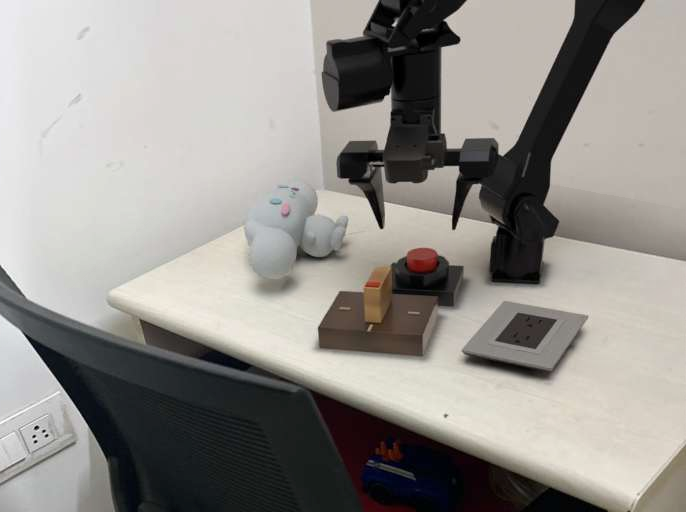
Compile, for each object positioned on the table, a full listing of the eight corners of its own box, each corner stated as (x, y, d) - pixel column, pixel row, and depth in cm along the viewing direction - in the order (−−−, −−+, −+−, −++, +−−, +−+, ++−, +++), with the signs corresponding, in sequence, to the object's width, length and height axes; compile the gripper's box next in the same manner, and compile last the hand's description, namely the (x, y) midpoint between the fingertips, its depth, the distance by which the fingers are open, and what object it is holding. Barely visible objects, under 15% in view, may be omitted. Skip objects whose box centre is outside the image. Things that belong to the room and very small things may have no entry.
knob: (377, 299, 98) (375, 264, 95) (392, 300, 98) (391, 264, 95) (364, 322, 94) (363, 285, 91) (380, 323, 93) (379, 286, 90)
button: (439, 260, 104) (439, 248, 103) (434, 273, 101) (434, 260, 100) (410, 259, 105) (410, 246, 104) (404, 272, 102) (403, 259, 101)
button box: (463, 280, 107) (464, 252, 104) (453, 307, 101) (454, 278, 99) (392, 277, 110) (391, 249, 107) (379, 303, 104) (378, 275, 101)
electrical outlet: (549, 384, 86) (551, 366, 84) (461, 365, 90) (461, 347, 89) (585, 331, 94) (588, 313, 92) (502, 315, 98) (504, 298, 97)
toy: (341, 259, 102) (237, 208, 100) (310, 323, 108) (212, 277, 106) (361, 191, 126) (276, 149, 123) (334, 247, 132) (254, 207, 130)
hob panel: (438, 317, 100) (438, 294, 97) (422, 357, 92) (422, 334, 90) (341, 311, 103) (339, 289, 101) (319, 349, 96) (317, 326, 94)
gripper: (318, 118, 85) (330, 254, 95) (491, 113, 80) (484, 257, 90) (343, 90, 93) (352, 218, 103) (502, 83, 87) (495, 219, 98)
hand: (417, 228), depth 98 cm, fingers open, 9 cm apart
